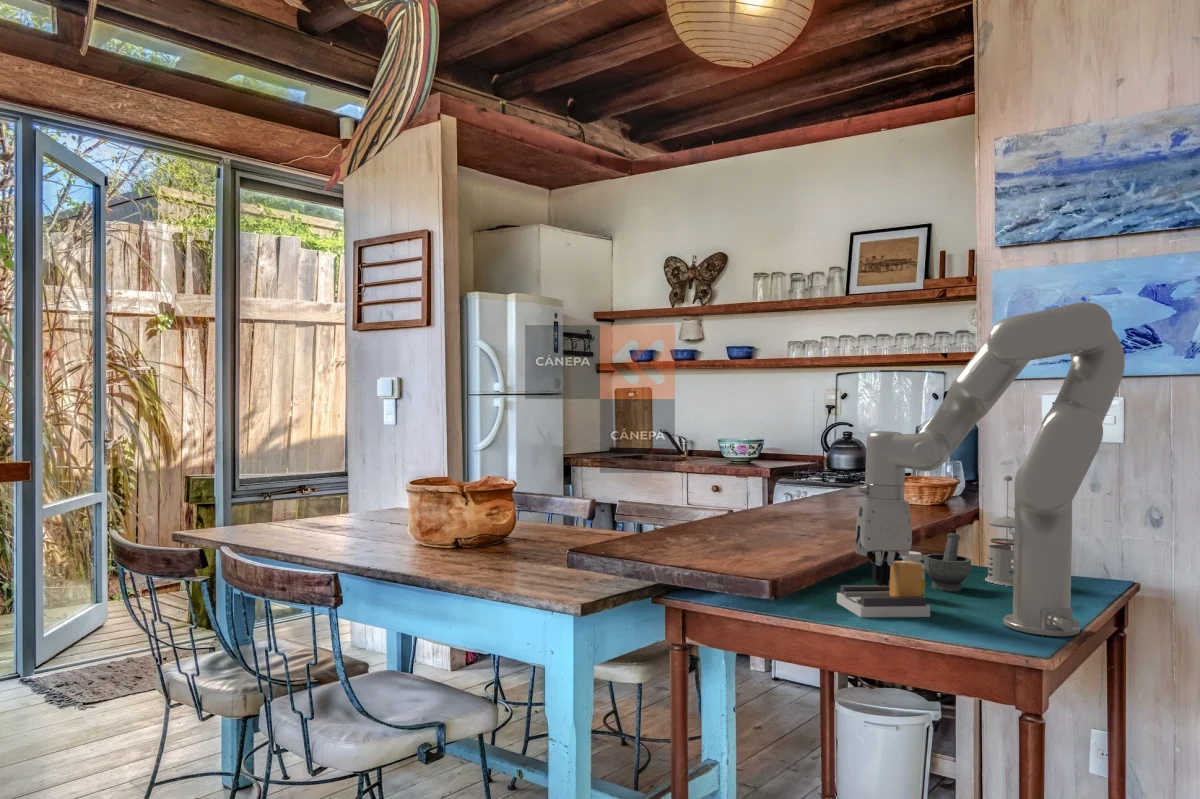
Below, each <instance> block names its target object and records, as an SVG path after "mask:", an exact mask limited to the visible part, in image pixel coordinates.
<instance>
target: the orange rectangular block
mask: <svg viewBox="0 0 1200 799" xmlns="http://www.w3.org/2000/svg"><path fill="white" fill-rule="evenodd" d="M921 583H922V565H920V564H918V563H915V562H913V561H903V560H895V561H894V562H893V565H892V566H890V580H889V585H890V591H889V595H890V596H921Z"/></svg>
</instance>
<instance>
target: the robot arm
mask: <svg viewBox="0 0 1200 799" xmlns="http://www.w3.org/2000/svg"><path fill="white" fill-rule="evenodd" d="M1068 354H1069V356H1070V368H1069V369H1068V372H1067V374H1066V376H1065V378H1064V381H1063V383H1062V385H1061V388H1060V389H1059V392H1058V395H1057V396H1056V398H1055V401H1054V402H1053V404H1052V405H1051V407H1050V409H1049V411H1048V412H1047V413H1046V415H1045V416H1044V418H1043V419H1042V422H1041V426H1040V429H1039V431H1038V432H1037V435H1036V437H1035V439H1034V441H1033V443H1032V445H1031V448H1030V449H1029V451H1028V454H1027V456H1026V458H1025V460H1024V462H1023V464H1022V465H1021V466H1020V467H1019V469H1018V470H1017V471H1016V474H1015V478H1014V518H1015V526H1014V528H1013V529H1014V530H1013V533H1014V560H1013V563H1014V566H1013V569H1014V572H1013V573H1012V574H1013V587H1012V589H1013V590H1012V613H1010V614H1006V615H1005V616H1004V617H1003V624H1004V625H1005V626H1006V627H1008V628H1010V629H1012V630H1015V631H1019V632H1022V633H1027V634H1032V635H1039V636H1045V635H1046V636H1047V637H1071V636H1076V635H1079V634H1080V631H1081V627H1080V621H1079V620H1078V619H1075V618H1073V616H1074V614H1073V609H1072V608H1071V602H1072V601H1071V598H1072V597H1071V596H1072V595H1071V594H1072V591H1071V590H1072V547H1073V500H1074V498H1075V496H1076V495H1077V493H1078V490H1079V489H1080V487H1081V485H1082V483H1083V480H1084V479H1085V477H1086V475H1087V473H1088V471H1089V469H1090V467H1091V465H1092V463H1093V461H1094V459H1095V457H1096V455H1097V453H1098V451H1099V449H1100V446H1101V444H1102V441H1103V436H1104V426H1103V423H1104V421H1105V419H1106V416H1107V414H1108V412H1109V410H1110V409H1111V406H1112V403H1113V401H1114V399H1115V397H1116V396H1115V395H1116V393H1117V392H1118V389H1119V387H1120V384H1121V382H1122V379H1123V376H1124V371H1125V364H1126V362H1125V360H1126V359H1125V353H1124V349H1123V346H1122V343H1121V340H1120V338H1119V336H1118V335H1117V333H1116V332H1115V330H1114V329H1113V320H1112V317H1111V315H1110V313H1109V312H1108V311H1107V309H1105V307H1103V306H1101V305H1100V304H1097V303H1095V302H1088V301H1085V302H1084V301H1083V302H1074V303H1071V304H1066V305H1062V306H1058V307H1052V308H1049V309H1043V310H1039V311H1034V312H1029V313H1024V314H1018V315H1015V316H1014V315H1013V316H1009V317H1006V318H1003V319H1002V320H1000V321H998V322H997V323H996V324H995V325H993V327H992V328H991V329H990V332H989V334H988V337H987V338H986V340H985V341H984V342H983V343H982V345H981V346H980V347H979V349H978V350H977V351H976V352H975V353H974V355H973V356H972V358H970V360H969V361H968V362H967V363H966V364H965V366H964V367H963V369H961V371H960V372H959V374H958V375H957V376H956V377H955V378H954V380H953V381H952V382H951V384H950V386H949V387H948V388H949V389H948V390H947V393H946V395H945V398H944V399H943V401H942V402H941V404H940V405H939V407H938V408H937V409H936V411H935V412H934V414H932V416H931V417H930V419H929V420H928V421H927V422H926V423H925V425H924V426H923V427H922V429H920V431H919V432H918V433H906V434H905V433H902V432H899V431H890V430H889V431H888V430H887V431H885V430H881V431H880V430H879V431H878V430H875V431H871V432H869V433H868V435H867V438H866V449H865V450H866V451H865V478H864V480H865V481H864V483H863V486H859V487H858V493H859V494H862V495H863V496H864V497H863V498H861V499H860V500H861V501H860V503H859V507H858V513H857V516H856V517H857V518H856V526H855V544H856V547H855V554H857V555H860V556H863V557H866V558H867V559H868V560H869V561H870V562H871V563H872V576H871V577H872V580H873V583H874V585H879V586H883V585H884V586H888V585H889V582H890V566H892V565H893V562H894V561H897V560H898V559H899V558H902V556H906V555H908V554H909V551H910V550H911V548H912V544H913V543H912V541H913V539H912V538H913V534H912V532H913V529H912V519H911V518H912V516H911V510H910V504H909V501H908V500H905V481H906V469H909V470H914V471H919V472H931V471H935V470H937V469H939V467H941V466H942V465H943V464H945V463H946V462H947V460H948V459H949V458H950V457H951V456H952V454H953V452H955V450H956V449H957V448H958V447H959V445H960V444H961V443H962V442H963V441H964V439H965V438H966V437H967V436H968V435H969V433H970V432H971V431H972V429H974V427H975V426H976V425H977V423H979V421H980V420H981V419H983V418H984V417H985V416H986V415H987V414H988V413H989V412H990V410H991V409H992V408H993V407H994V405H996V403H997V402H998V401H999V400H1000V398H1002V396H1003V395H1004V393H1005V392H1006V390H1007V389H1008V388H1010V386H1011V385H1012V383H1013V382H1014V381H1015V380H1016V378H1017V377H1018V376H1019V375H1020V374H1021V373H1022V371H1023V370H1024V369H1025V367H1027V365H1028V364H1029V363H1030V361H1036V360H1042V359H1048V358H1053V357H1057V356H1063V355H1068Z"/></svg>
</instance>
